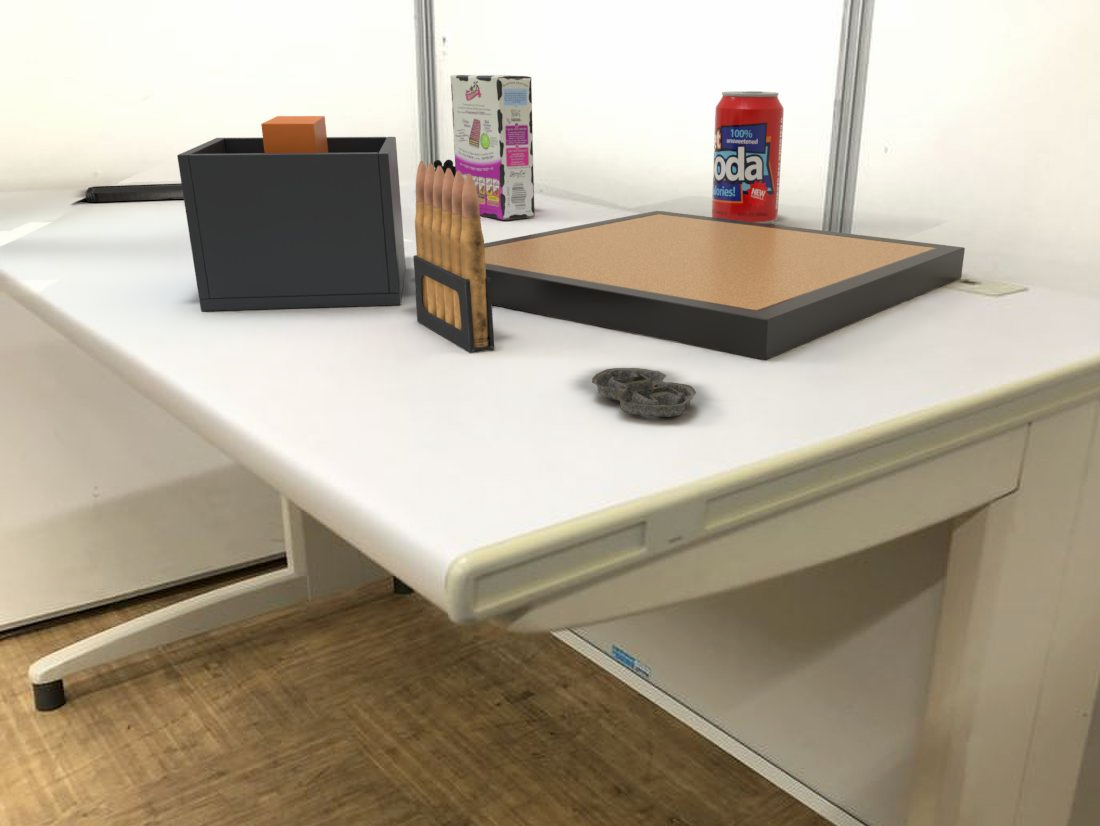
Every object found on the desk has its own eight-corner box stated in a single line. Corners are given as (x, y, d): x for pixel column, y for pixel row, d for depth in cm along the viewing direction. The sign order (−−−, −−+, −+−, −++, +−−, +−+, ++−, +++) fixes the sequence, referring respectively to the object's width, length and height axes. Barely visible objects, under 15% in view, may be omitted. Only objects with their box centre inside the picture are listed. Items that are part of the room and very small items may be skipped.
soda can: (788, 223, 128) (796, 91, 122) (757, 232, 122) (764, 93, 116) (731, 217, 132) (737, 89, 126) (699, 225, 126) (703, 91, 120)
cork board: (416, 289, 92) (765, 360, 73) (414, 256, 91) (768, 319, 72) (656, 236, 118) (961, 278, 99) (657, 210, 117) (964, 247, 98)
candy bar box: (537, 217, 131) (533, 75, 124) (503, 221, 128) (497, 76, 121) (488, 207, 139) (482, 73, 132) (455, 210, 136) (447, 73, 129)
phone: (89, 186, 145) (206, 182, 150) (91, 194, 145) (207, 190, 150) (84, 193, 138) (207, 189, 143) (86, 202, 139) (208, 197, 144)
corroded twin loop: (644, 378, 68) (645, 362, 68) (714, 413, 62) (715, 396, 61) (575, 389, 66) (575, 373, 65) (640, 427, 59) (640, 409, 59)
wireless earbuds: (466, 195, 149) (465, 158, 147) (473, 197, 147) (471, 159, 145) (419, 198, 146) (416, 160, 144) (425, 200, 144) (422, 162, 142)
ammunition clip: (416, 320, 82) (404, 160, 78) (439, 318, 83) (428, 159, 78) (470, 353, 74) (461, 175, 69) (495, 349, 75) (487, 174, 70)
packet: (281, 287, 88) (261, 123, 83) (294, 266, 96) (276, 116, 91) (330, 286, 89) (313, 123, 84) (339, 265, 97) (324, 116, 92)
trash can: (200, 311, 84) (176, 155, 80) (235, 272, 99) (216, 137, 94) (400, 305, 87) (388, 153, 82) (405, 268, 101) (395, 136, 97)
